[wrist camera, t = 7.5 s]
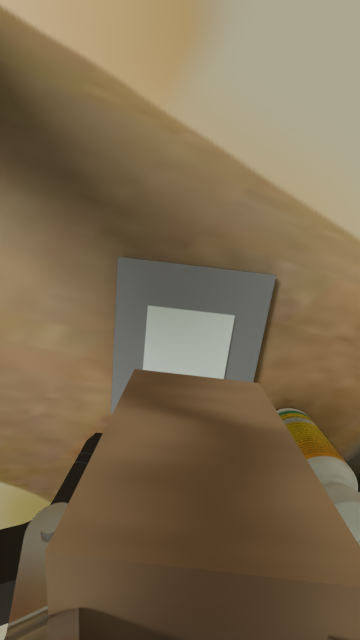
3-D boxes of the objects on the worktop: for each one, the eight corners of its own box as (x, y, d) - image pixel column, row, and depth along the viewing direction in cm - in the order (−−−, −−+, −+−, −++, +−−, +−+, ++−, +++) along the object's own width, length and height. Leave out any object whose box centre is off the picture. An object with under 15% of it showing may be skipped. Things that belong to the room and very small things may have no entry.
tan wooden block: (127, 469, 12) (54, 729, 5) (134, 368, 11) (44, 551, 4) (237, 482, 12) (302, 756, 5) (259, 383, 11) (386, 589, 4)
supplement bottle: (319, 433, 25) (399, 535, 16) (275, 454, 26) (327, 564, 16) (296, 397, 24) (368, 483, 14) (252, 420, 25) (293, 516, 15)
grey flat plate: (113, 408, 25) (110, 415, 23) (120, 256, 21) (116, 256, 19) (240, 422, 25) (243, 430, 23) (272, 274, 21) (277, 275, 20)
